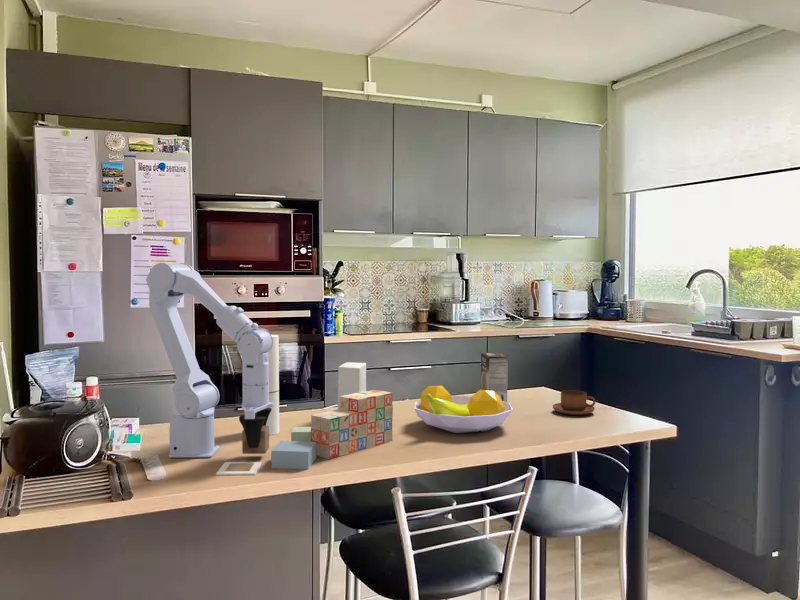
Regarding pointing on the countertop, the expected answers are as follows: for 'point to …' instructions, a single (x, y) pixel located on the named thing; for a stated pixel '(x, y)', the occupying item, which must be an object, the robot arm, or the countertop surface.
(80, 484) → the countertop surface
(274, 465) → the base block
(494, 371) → the coffee box
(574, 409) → the cup and saucer
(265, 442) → the walnut cube
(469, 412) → the fruit bowl
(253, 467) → the white flat square frame
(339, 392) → the skincare box
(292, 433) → the sage cube
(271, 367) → the cylindrical container
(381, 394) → the stack of blocks
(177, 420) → the robot arm
